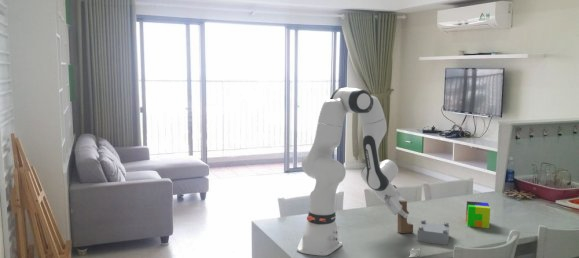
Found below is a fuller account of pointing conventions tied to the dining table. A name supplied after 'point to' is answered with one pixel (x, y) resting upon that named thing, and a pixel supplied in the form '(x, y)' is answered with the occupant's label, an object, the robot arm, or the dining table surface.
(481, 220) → the puzzle toy
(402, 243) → the dining table surface
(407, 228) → the wooden block
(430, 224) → the base brick
